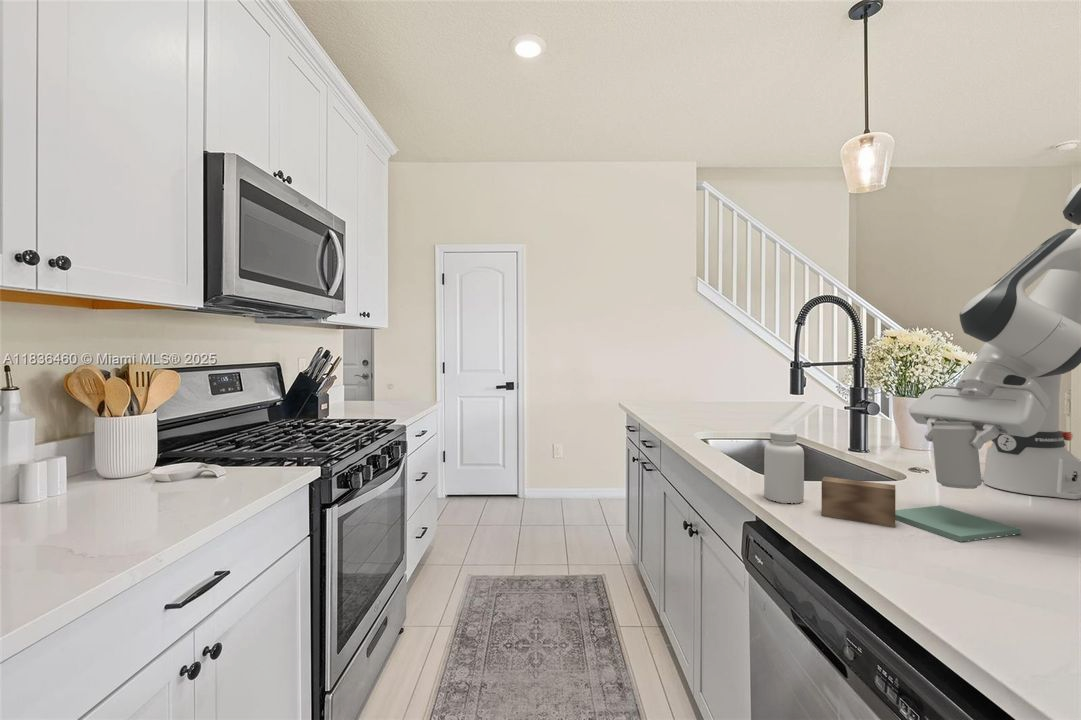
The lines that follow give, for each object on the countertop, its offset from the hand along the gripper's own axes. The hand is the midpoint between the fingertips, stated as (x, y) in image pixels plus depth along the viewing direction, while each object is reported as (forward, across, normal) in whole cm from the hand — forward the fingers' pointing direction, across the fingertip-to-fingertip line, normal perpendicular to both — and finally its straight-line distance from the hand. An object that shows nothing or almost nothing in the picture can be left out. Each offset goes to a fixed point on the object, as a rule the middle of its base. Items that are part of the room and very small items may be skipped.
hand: (950, 443), depth 92 cm
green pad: (+11, -1, +11) cm, 16 cm away
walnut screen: (+20, -8, +2) cm, 22 cm away
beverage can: (+6, +1, +6) cm, 8 cm away
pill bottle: (+23, -23, -1) cm, 33 cm away
